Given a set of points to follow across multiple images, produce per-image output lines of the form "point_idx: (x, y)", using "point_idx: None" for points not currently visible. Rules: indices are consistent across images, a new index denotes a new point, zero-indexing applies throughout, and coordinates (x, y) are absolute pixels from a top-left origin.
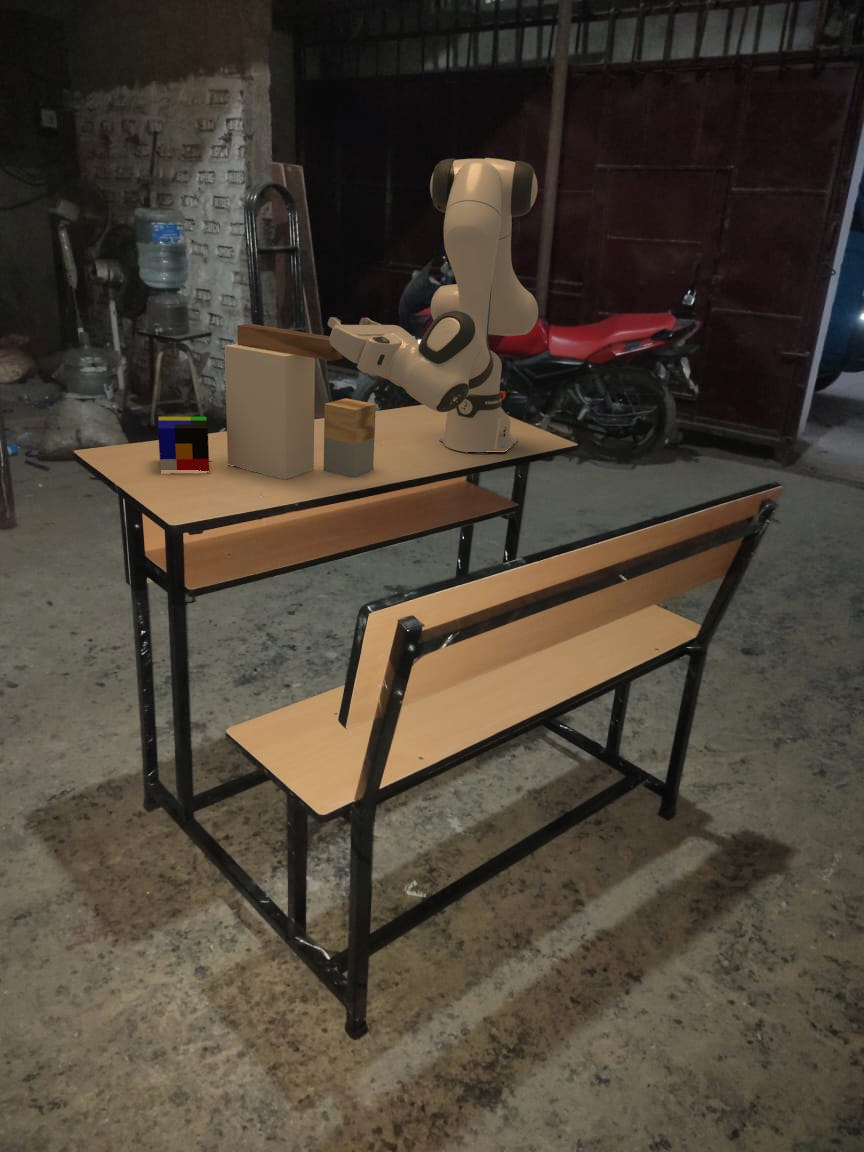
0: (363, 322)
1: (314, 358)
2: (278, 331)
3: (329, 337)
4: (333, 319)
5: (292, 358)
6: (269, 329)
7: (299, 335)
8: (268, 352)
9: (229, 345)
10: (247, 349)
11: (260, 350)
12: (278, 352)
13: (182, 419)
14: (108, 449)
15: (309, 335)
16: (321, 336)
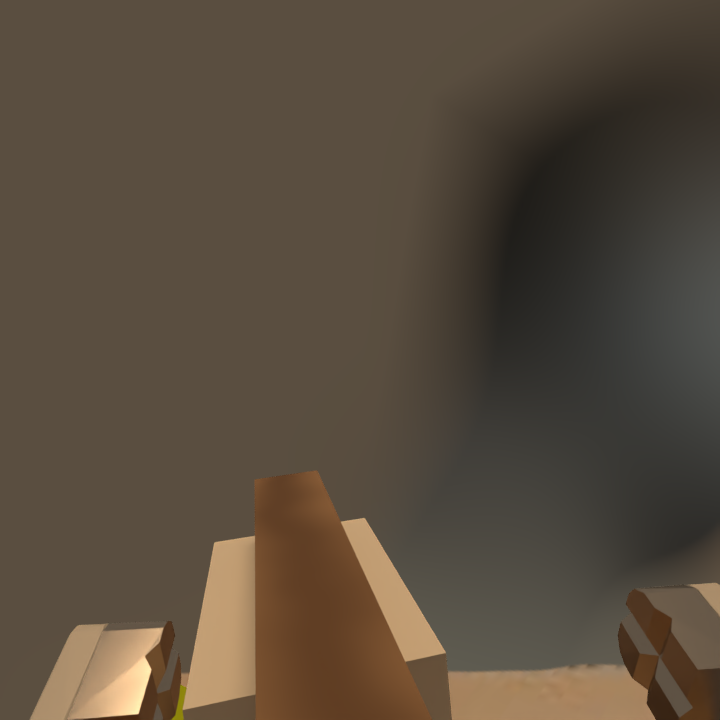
0: (657, 648)
1: (446, 690)
2: (268, 538)
3: (372, 683)
4: (54, 675)
5: (250, 714)
6: (278, 515)
7: (256, 604)
8: (215, 631)
9: (229, 543)
10: (209, 584)
11: (231, 601)
12: (252, 639)
13: (175, 714)
14: (183, 681)
15: (305, 614)
16: (348, 646)
